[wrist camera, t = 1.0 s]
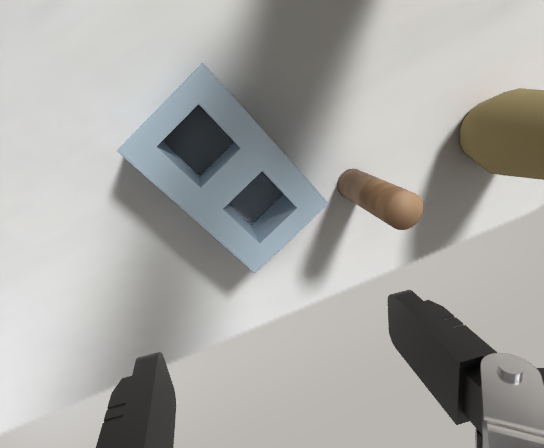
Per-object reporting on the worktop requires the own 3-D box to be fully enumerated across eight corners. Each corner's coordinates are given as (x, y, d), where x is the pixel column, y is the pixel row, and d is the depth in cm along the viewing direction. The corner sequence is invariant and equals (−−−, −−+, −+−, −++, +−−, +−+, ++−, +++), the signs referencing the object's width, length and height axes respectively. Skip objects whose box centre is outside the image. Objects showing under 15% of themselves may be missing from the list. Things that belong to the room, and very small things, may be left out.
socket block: (201, 68, 30) (203, 62, 25) (311, 190, 36) (328, 203, 31) (128, 143, 31) (116, 150, 26) (247, 251, 36) (254, 273, 32)
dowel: (353, 162, 36) (410, 183, 26) (370, 183, 37) (430, 210, 27) (331, 183, 36) (379, 211, 27) (349, 203, 37) (401, 237, 28)
